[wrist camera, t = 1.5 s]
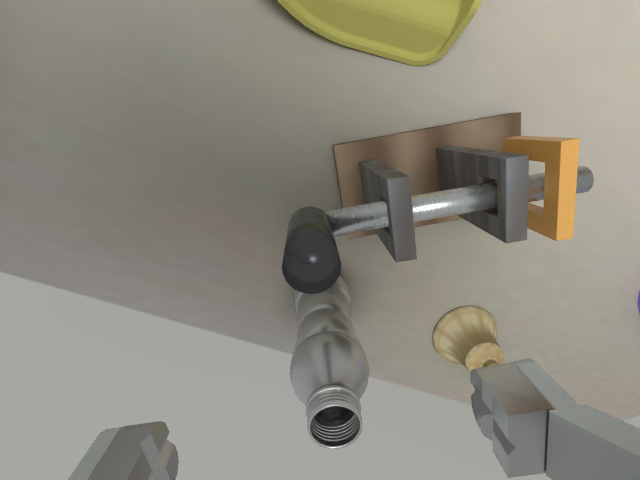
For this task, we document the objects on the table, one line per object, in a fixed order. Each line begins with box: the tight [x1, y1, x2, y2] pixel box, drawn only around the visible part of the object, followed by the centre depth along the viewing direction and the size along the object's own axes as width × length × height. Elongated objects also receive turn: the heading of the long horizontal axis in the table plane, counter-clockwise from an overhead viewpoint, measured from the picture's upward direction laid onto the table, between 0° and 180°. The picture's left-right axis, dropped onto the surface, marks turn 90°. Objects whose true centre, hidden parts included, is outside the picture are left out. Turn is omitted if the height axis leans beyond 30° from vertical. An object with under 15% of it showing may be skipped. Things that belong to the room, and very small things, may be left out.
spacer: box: [503, 136, 580, 241], centre depth 27 cm, size 1×7×7 cm, turn 9°
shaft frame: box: [333, 112, 529, 262], centre depth 31 cm, size 19×10×14 cm, turn 100°
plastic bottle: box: [290, 275, 369, 449], centre depth 32 cm, size 6×7×20 cm
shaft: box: [282, 166, 594, 294], centre depth 23 cm, size 23×3×9 cm, turn 100°
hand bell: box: [433, 306, 504, 372], centre depth 37 cm, size 8×8×16 cm
